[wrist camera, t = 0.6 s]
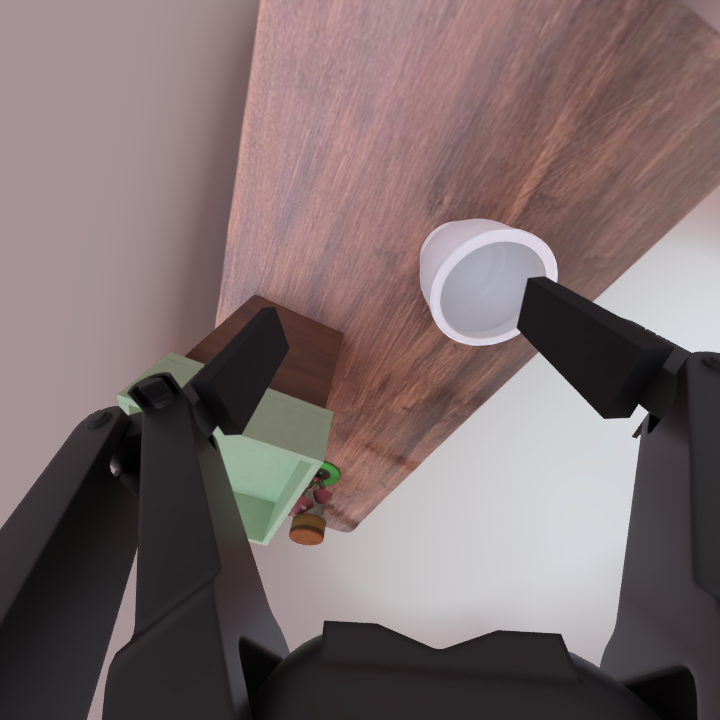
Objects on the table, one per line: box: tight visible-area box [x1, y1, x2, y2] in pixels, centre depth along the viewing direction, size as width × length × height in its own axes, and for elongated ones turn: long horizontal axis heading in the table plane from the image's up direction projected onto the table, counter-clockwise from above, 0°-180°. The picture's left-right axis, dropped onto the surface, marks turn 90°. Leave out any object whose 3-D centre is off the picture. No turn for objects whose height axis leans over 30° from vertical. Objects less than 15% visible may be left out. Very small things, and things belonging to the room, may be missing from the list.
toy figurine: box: [289, 462, 340, 545], centre depth 60 cm, size 12×13×15 cm
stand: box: [185, 295, 343, 409], centre depth 39 cm, size 20×15×18 cm
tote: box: [117, 352, 333, 546], centre depth 29 cm, size 22×17×6 cm
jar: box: [420, 219, 558, 346], centre depth 28 cm, size 11×10×15 cm
